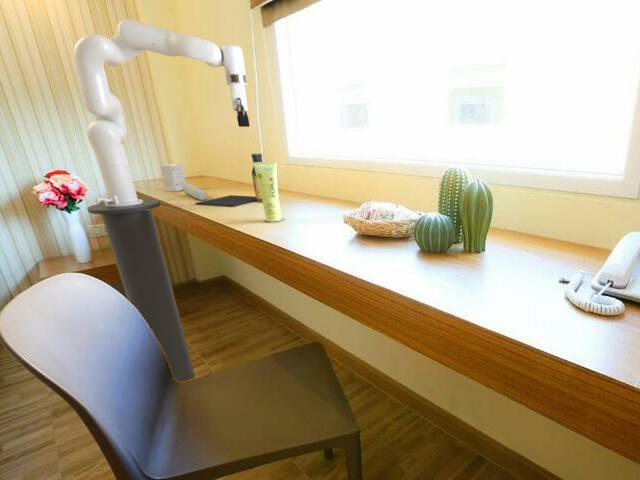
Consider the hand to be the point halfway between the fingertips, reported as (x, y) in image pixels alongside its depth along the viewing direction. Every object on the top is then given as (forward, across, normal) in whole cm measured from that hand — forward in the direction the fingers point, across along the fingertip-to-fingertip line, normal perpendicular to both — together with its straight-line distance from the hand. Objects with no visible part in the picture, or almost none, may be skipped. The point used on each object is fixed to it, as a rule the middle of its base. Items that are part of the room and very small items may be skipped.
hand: (244, 126), depth 163 cm
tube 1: (+31, -17, -28) cm, 45 cm away
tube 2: (+31, +47, +9) cm, 57 cm away
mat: (+30, +1, -10) cm, 32 cm away
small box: (+31, -46, -43) cm, 70 cm away
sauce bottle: (+31, +6, +4) cm, 31 cm away
